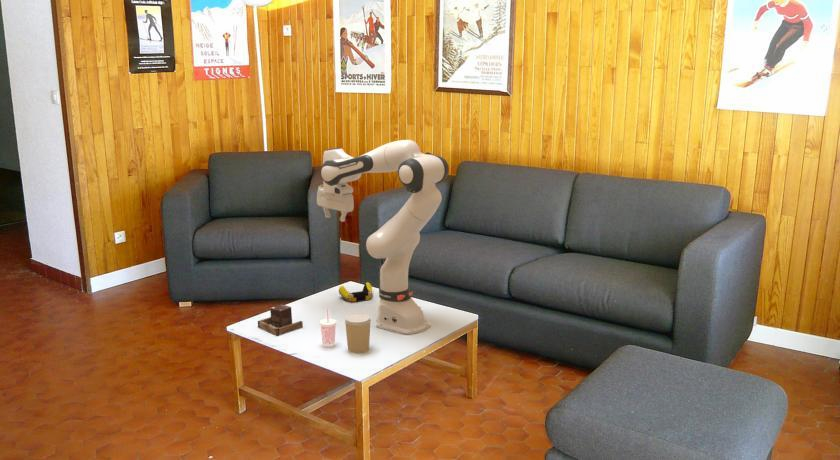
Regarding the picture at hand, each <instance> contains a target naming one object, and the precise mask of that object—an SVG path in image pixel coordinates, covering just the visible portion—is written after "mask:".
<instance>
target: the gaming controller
mask: <svg viewBox="0 0 840 460" xmlns="http://www.w3.org/2000/svg"><path fill="white" fill-rule="evenodd" d="M338 293H339V295H340V296H341V297H342V298H343V299H345V301H348V303H349V302H352V303H354V302H355V303H356V302H363V301H368V300H370V299H372V298H373V286H372V285H371V283H370V282H365V284H364V285H363V288H362V290H361V291H353V292H349V291H348V290H347V289H346V288H345V286H344V285H341V286H339V287H338Z"/></svg>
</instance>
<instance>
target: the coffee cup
mask: <svg viewBox="0 0 840 460" xmlns="http://www.w3.org/2000/svg"><path fill="white" fill-rule="evenodd" d="M371 320H372V319H371V317H370V316H369V315H368V314H365V313H351V314H349V315H347V316H345V319H344V323H345V331H346V333H345V335H346V343H347V349H348V351H349V352H350V353H354V354H361V353H365V352H367V351H369V349H370V336H371V335H370V334H371V322H372V321H371Z"/></svg>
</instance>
